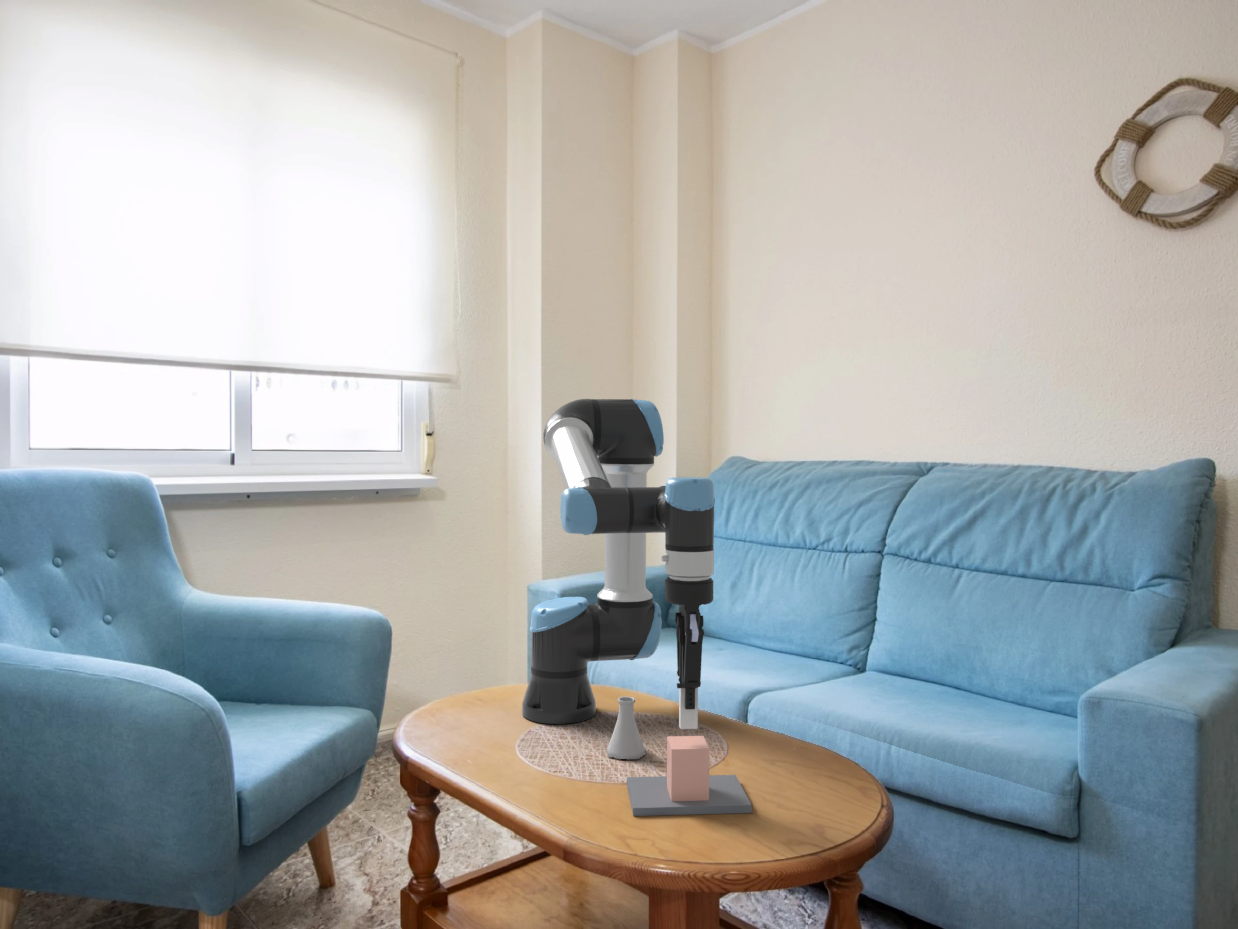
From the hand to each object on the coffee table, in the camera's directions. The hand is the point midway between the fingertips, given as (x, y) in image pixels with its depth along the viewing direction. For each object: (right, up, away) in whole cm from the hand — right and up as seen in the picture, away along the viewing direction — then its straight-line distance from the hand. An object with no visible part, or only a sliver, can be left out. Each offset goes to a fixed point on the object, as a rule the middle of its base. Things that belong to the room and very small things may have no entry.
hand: (688, 727), depth 136 cm
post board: (0, -12, +1) cm, 12 cm away
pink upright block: (0, -10, 0) cm, 10 cm away
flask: (-10, -11, +21) cm, 25 cm away
